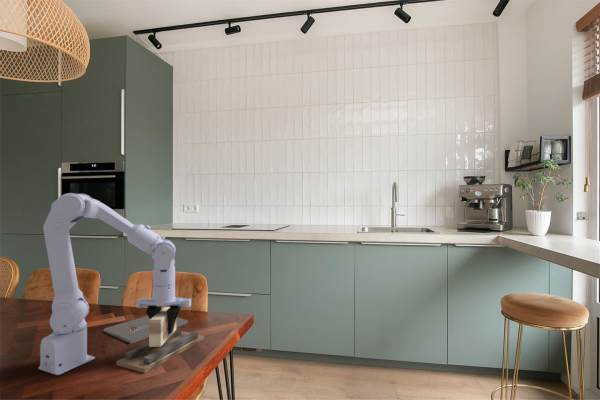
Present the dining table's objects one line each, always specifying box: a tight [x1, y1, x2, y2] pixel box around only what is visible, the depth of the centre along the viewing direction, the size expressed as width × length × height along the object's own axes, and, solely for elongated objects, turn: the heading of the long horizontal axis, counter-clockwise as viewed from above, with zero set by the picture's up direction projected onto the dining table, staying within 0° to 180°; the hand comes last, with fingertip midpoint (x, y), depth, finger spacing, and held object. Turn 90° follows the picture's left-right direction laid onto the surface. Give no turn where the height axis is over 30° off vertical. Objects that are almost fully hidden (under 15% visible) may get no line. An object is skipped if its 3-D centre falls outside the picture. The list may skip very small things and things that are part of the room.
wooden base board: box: [116, 328, 206, 374], centre depth 94 cm, size 22×10×2 cm, turn 156°
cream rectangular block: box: [148, 307, 178, 347], centre depth 94 cm, size 12×3×7 cm, turn 1°
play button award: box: [103, 315, 189, 344], centre depth 112 cm, size 16×2×20 cm
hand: (164, 332), depth 94 cm, fingers closed on cream rectangular block, 3 cm apart
